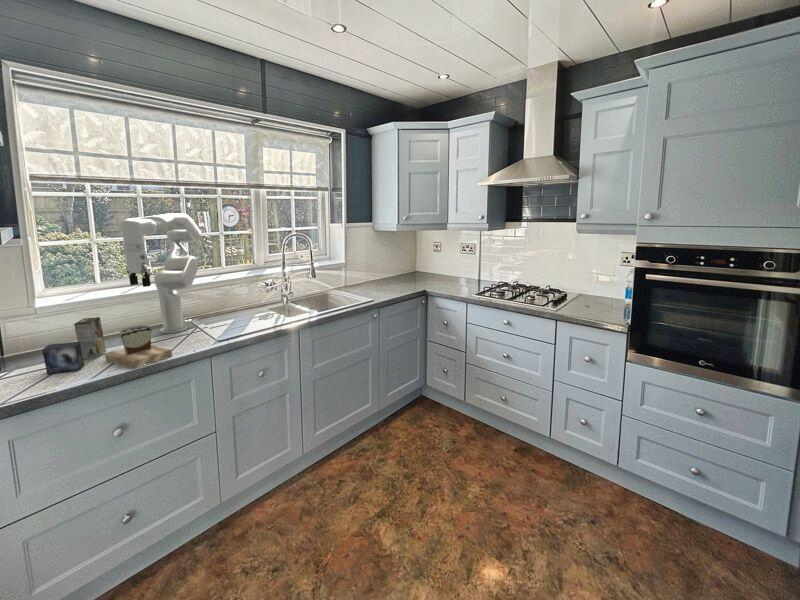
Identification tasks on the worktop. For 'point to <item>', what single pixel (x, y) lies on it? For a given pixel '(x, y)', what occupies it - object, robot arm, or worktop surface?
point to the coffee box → (90, 337)
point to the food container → (136, 339)
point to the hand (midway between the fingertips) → (140, 285)
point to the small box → (63, 357)
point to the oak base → (138, 356)
